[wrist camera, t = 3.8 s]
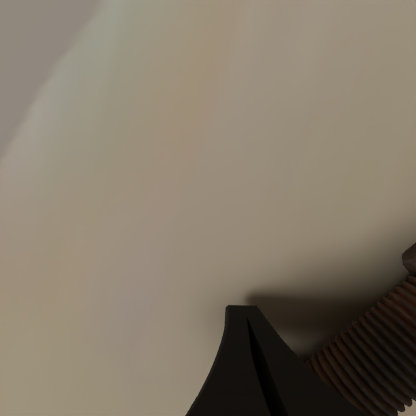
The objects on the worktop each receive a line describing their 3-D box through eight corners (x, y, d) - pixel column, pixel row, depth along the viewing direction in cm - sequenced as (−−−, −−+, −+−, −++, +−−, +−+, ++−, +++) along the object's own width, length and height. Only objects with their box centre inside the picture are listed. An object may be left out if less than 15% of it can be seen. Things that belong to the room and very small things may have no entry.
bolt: (484, 192, 14) (265, 378, 16) (490, 129, 10) (212, 376, 13) (679, 281, 9) (339, 515, 12) (798, 223, 6) (290, 565, 9)
